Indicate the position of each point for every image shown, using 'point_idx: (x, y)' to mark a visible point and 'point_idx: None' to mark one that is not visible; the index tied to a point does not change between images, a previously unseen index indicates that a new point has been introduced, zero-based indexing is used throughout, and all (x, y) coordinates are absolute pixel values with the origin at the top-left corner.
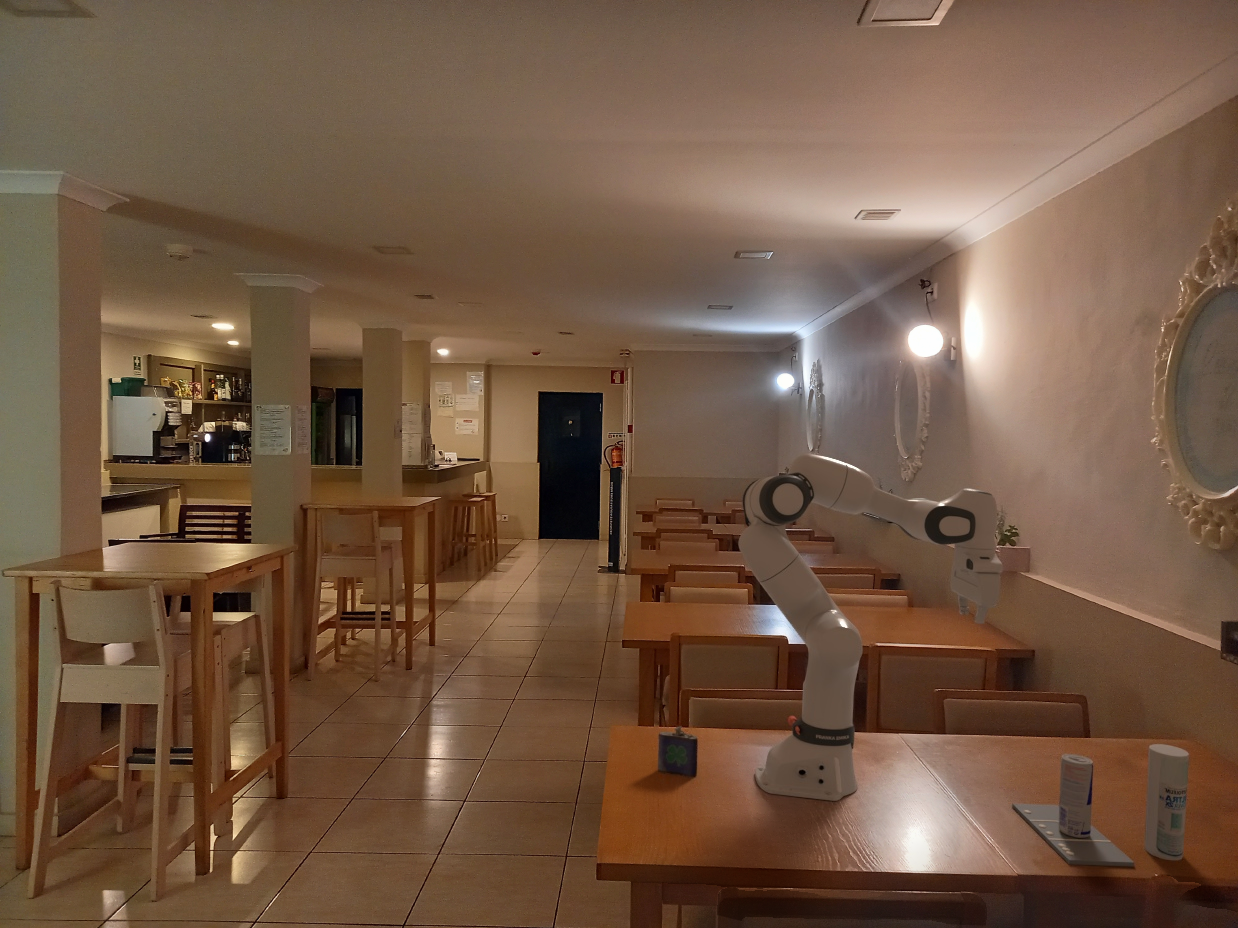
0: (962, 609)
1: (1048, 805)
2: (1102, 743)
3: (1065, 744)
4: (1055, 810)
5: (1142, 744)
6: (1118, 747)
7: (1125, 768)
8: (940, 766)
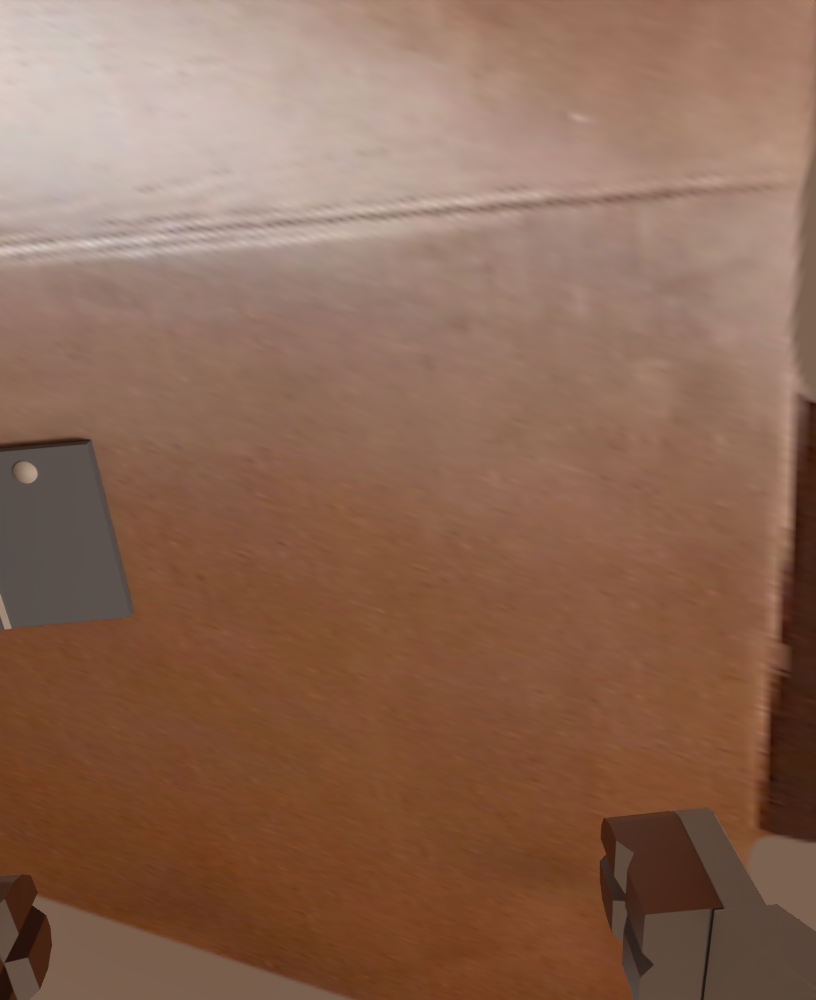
0: (626, 889)
1: (108, 555)
2: None
3: (694, 772)
4: (74, 563)
5: None
6: None
7: (503, 857)
8: (432, 279)
